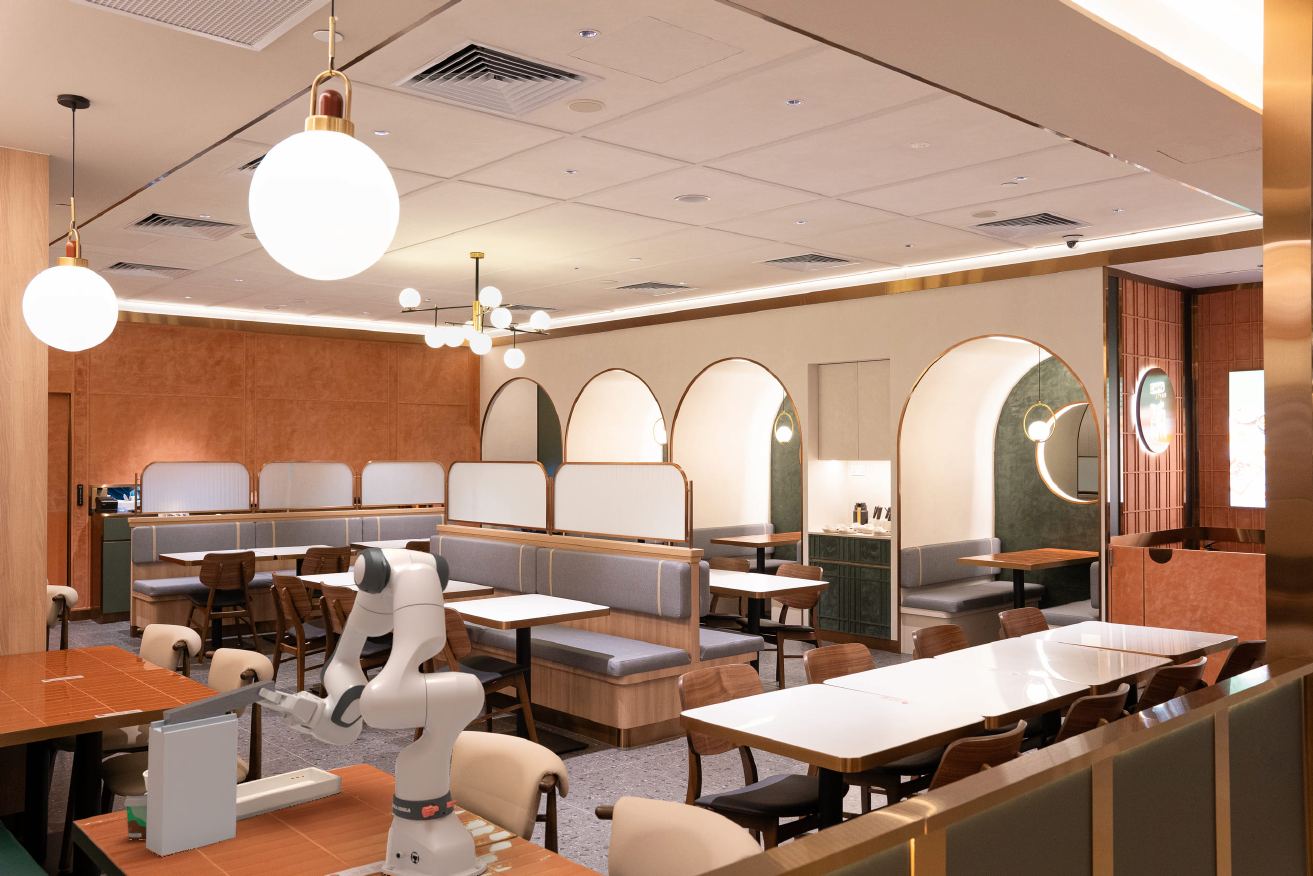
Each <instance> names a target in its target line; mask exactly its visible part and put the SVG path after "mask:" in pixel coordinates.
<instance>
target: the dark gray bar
mask: <svg viewBox="0 0 1313 876" xmlns="http://www.w3.org/2000/svg"><path fill="white" fill-rule="evenodd" d="M275 683H276V682H275V680H271V679H267V678H266V679H263V680H261V681H256V682H254V683H250V684H247V685H243V686H241V687H237V688H235V689H230V690H227V691H225V692H221V693H219V694H215V695H212V696H209V697H206V698H202V699H199V700H196V701H195V700H194V701H193V702H190V703H186V704H183V705H179V706H176V707H173V708H170V709H169V708H168V709H167V710H164V711H162V714H163V715H162V717H163V720H164V724H165V726H167V725H173V724H178V723H184V722H189V721H195V720H200V719H206V718H209V717H212V716H215V715H218V714H221V713H224V712H225V713H227V712H231V711H233V710H236V709H240V708H243V707H245V706H248V705H253V704H254V703H256V702H258V701H261V700H264V699H266V698H264V697H261V696H259V695H257V692H258V691H259V688H265V689H267V690H269V691H272V692H275V693H276V691H277V690H276V684H275ZM275 690H276V691H275Z"/></svg>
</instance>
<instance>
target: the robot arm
mask: <svg viewBox="0 0 1313 876" xmlns="http://www.w3.org/2000/svg"><path fill="white" fill-rule="evenodd" d="M450 571H451V570H450V566H449V563H448V560H447V559H446V558H445V556H443V555H441V554H438V553H434V552H423V551H421V550H419V551H418V550H414V549H412V550H411V549H406V548H398V547H397V548H395V547H391V548H389V547H386V548H385V547H384V548H381V547H378V546H377V547H368V548H365V549H362V550H361V552H360V553H359V554H357V557H356V559H355V563H354V566H353V582H354V584H355V586H356V587H357V592H356V596H355V600H354V603H353V606H352V609H351V611H350V612H349V614H348V616H347V618H346V620H345V622H344V625H343V628H342V630H341V633H340V636H339V639H338V641H337V643H336V646H335V647H334V651H333V653H331V655H330V656H329V658H328V659H327V660H326V662H325V663H324V665H322V668H321V670H320V675H319V678H320V682H321V685H322V686H323V688H324V689H325V691H326V692H327V696H326V697H325V698H321V697H319V696H317V695H315V694H313V693H311V692H308V691H307V690H301V691H299V692H297V693H292V694H290V693H286V692H284V691H283V692H282V691H279V690H277V689H275V691H276V693H275V692H272V691H269V690H267V689H265V688H259V691H258V692H257V695H259V696H261V697H264V698H266V699H264V700H261V701H258V702H255V703H256V704H257V705H261V706H263V707H265V708H268V709H271V710H273V711H277V712H281V716H282V717H281V718H283V723H284V725H285V726H286V727H289V728H290V729H294V730H295V731H298V732H301V733H302V734H308V735H311V736H312V737H313V738H315V739H316V740H318V741H322V742H324V743H327V744H329V745H333V746H342V747H343V746H348V745H351V744H352V743H353V742H355V741H356V740H357V738H358V737H359V735H360V734H361V732H362V729H363V721H364V722H365V723H366V724H367V726H368V727H370V728H373V729H374V728H375V729H383V730H403V729H412V728H415V729H416V728H425V730H424V732H423V733H422V735H421V736H420V737H419V738H418V739H417V740H416V741H413V742H412V743H410V744H409V745H407V746H406V747H404V748H403V749H402V750H401V751H400V752H399V754H398V755H397V757H396V760H395V762H394V763H395V764H394V765H395V768H394V769H395V770H394V771H395V772H394V773H395V775H394V777H395V779H394V780H395V781H394V793H393V794H392V801H391V807H392V814H393V818H392V822H391V825H390V827H389V828H388V835H387V844H386V853H385V863H384V864H383V865H382V866H381V868H380V869H381V870H380V873H381V872H384V873H387V874H392V875H395V876H477V875H478V876H479V875H481V874H482V873H484V872H485V871H487V869H488V863H487V862H486V861H484V860H482V859H481V858H480V857H478V856H477V855H476V846H475V840H474V837H473V833H472V830H471V829H469V828H468V829H467V828H466V827H465V825H464V824H463V823H462V821H461V820H460V818H459V817H458V816H457V814H456V813H455V811H454V810H455V807H456V806H457V803H456V802H457V799H453V796H452V793H451V790H450V789H449V784H450V783H449V782H450V781H449V780H450V765H451V759H452V758H451V757H452V752H453V749H454V746H455V744H456V743H457V740H458V738H459V737H460V734H461V733H462V732H463V731H464V729H466V727H467V726H468V725H469V724H470V723H471V722H473V721H474V720H475V719H476V718H477V717H478V716H479V714H480V713H481V711H482V709H483V707H484V703H485V690H484V689H485V688H484V687H483V684H482V682H481V680H480V679H479V678H478V677H477V675H475V674H473V673H468V672H467V673H466V672H460V671H459V672H458V671H444V672H431V673H428V672H427V673H422V672H420V671H419V667H420V665H421V664H422V663H424V662H426V661H428V660H429V659H432V658H433V657H435V656H436V655H438V654H439V653H440V652H441V651H442V650H443V649H444V648H445V645H446V642H447V632H446V631H447V630H446V629H447V627H446V615H445V600H444V595H443V593H444V591H445V590H446V589H447V587H448V585H449V584H448V583H449V581H450V575H451V574H450ZM392 630H393V633H392V634H393V636H392V648H391V651H390V655H389V657H388V660H387V661H386V664H384V667H383V668H382V670H381V671H380V672H379V673H378V674H377V675H376V676H375V677H374V678H372V679H371V680H370V681H369V680H368V679H367V677H366V676H365V674H364V671H363V670H362V665H361V661H360V657H361V654H362V651H363V649H364V645H365V643H366V642H367V639H368V637H369V638H370V637H371V638H374V637H381V636H384V635H387V634H389V633H390V632H391V631H392Z"/></svg>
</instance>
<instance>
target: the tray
mask: <svg viewBox="0 0 1313 876" xmlns="http://www.w3.org/2000/svg"><path fill="white" fill-rule="evenodd" d="M302 776H304V777H302ZM296 777H299V778H296ZM291 778H294V779H291ZM342 779H343V777H342V776H339V775H337V774H334V773H332V772H328V771H325V770H323V769H320V768H318V767H315V766H309V767H305V768H301V769H298V770H293V771H290V772H289V771H288V772H285V773H281V774H276V775H273V776H269V777H264V778H260V779H256V780H250V781H248V782H243V783H239V784H238V783H237V797H236V822H239V821H242V820H246V819H250V818H253V817H257V816H261V815H264V813H265V814H268V813H273V812H275V810H276V811H279V810H278V809H280V810H283V809H286V807H287V808H290V807H289V806H291V807H294V806H293V805H295V806H297V804H298V805H301V803H302V804H306V803H309V802H308V801H310V802H313V801H317V800H321V799H324V798H323V797H325V798H327V797H326V796H328V795H332V794H336V793H339V792H341V793H342V786H343V785H342V783H343V782H342V781H343V780H342ZM339 794H340V793H339ZM336 795H337V794H336ZM332 796H333V795H332ZM328 797H329V796H328ZM320 798H321V799H320ZM316 799H317V800H316ZM312 800H313V801H312ZM282 808H283V809H282ZM256 815H257V816H256Z"/></svg>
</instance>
